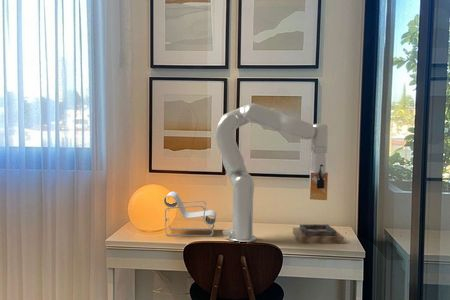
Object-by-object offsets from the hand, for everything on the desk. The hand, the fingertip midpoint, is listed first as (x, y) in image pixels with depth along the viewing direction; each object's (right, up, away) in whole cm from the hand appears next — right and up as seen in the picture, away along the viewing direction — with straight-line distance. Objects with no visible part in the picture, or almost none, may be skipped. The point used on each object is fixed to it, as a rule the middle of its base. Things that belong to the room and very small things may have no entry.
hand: (318, 186), depth 209 cm
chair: (-61, -24, +10) cm, 67 cm away
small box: (0, -6, 0) cm, 6 cm away
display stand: (0, -25, +2) cm, 25 cm away
